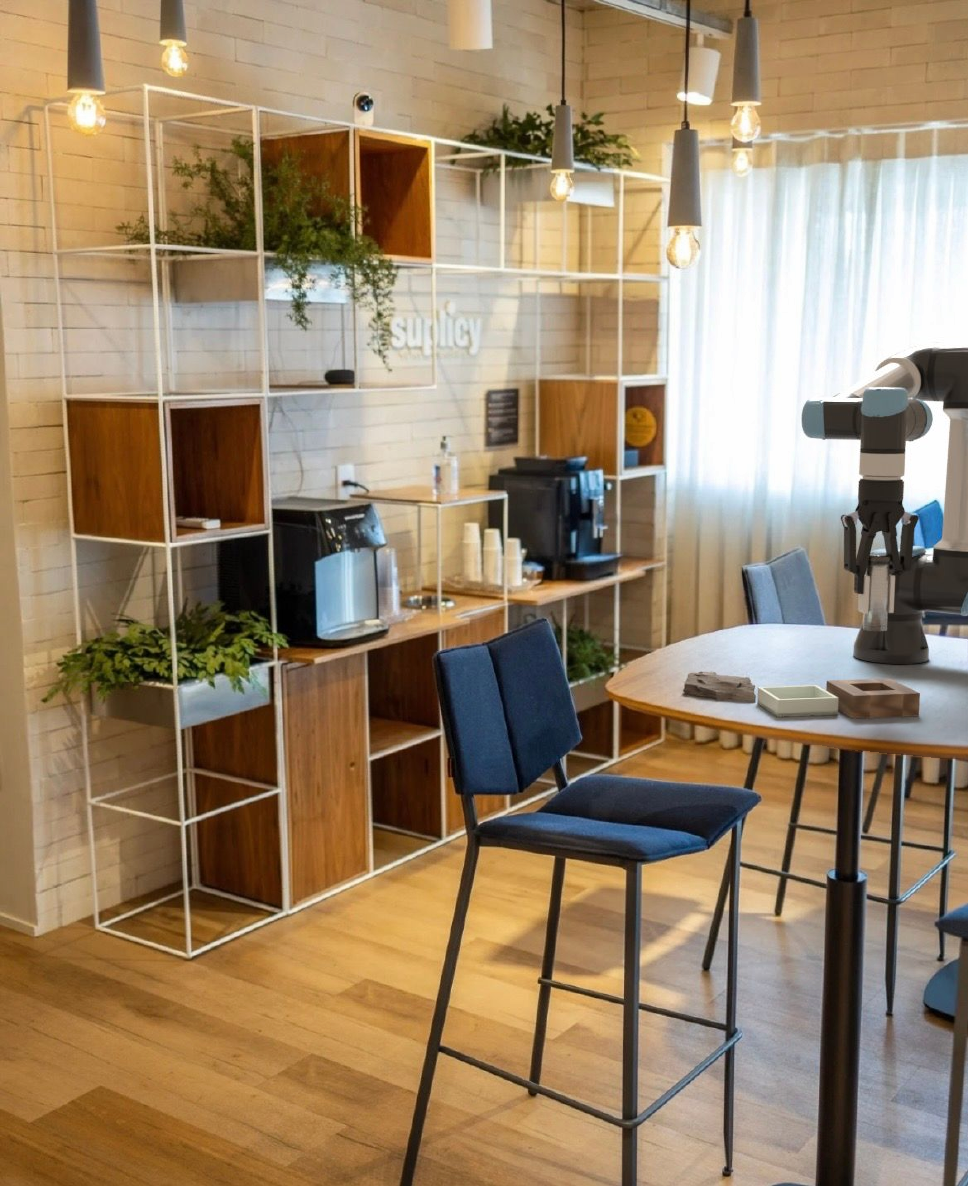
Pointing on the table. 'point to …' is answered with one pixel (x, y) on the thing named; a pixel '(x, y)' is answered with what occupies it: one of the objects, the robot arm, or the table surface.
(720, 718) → the table surface
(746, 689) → the rock
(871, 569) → the capped bottle
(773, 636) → the table surface
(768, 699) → the tray
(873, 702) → the bore block
